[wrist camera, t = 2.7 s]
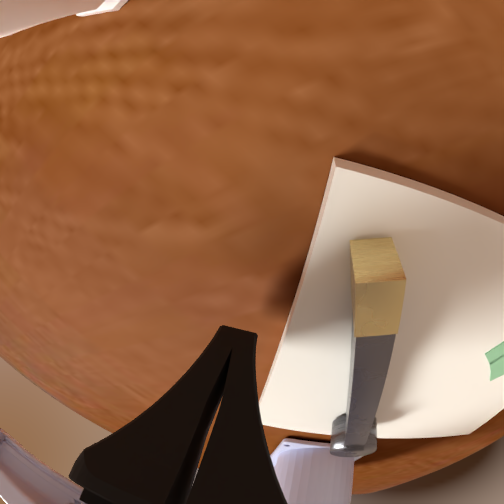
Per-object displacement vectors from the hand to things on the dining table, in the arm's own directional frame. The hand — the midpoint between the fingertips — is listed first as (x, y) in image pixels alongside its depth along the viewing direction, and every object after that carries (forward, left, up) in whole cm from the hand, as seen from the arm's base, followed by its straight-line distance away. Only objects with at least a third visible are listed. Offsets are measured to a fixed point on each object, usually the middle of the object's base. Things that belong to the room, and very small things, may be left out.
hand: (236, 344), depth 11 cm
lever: (-2, -6, -1) cm, 6 cm away
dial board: (-1, -11, -2) cm, 12 cm away
